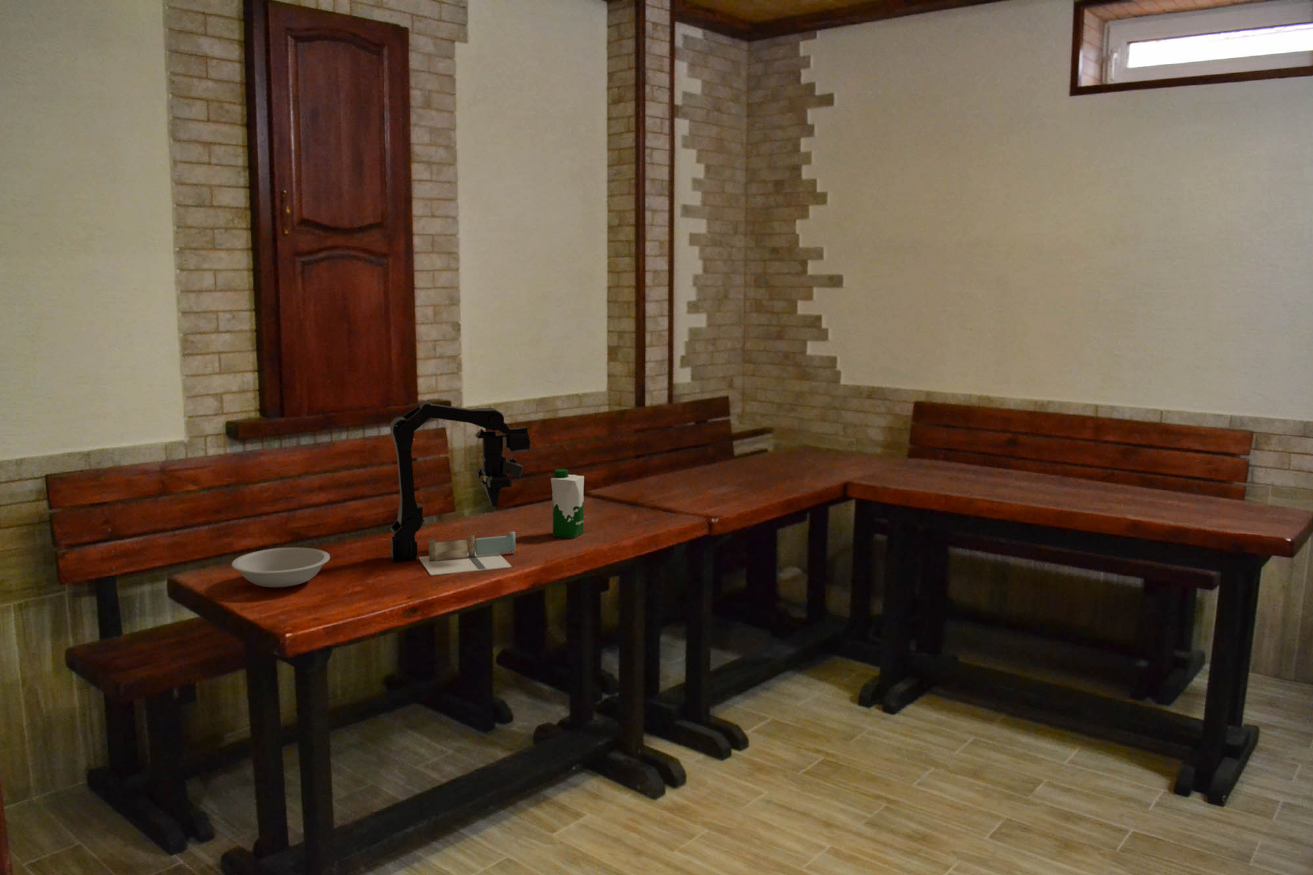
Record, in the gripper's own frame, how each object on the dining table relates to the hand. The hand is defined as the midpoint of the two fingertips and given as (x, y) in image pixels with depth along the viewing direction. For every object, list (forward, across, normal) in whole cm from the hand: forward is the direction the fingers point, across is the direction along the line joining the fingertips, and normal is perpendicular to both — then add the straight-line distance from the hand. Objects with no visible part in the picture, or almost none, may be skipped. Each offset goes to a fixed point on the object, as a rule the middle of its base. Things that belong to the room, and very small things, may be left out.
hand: (494, 506), depth 319 cm
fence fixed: (+13, -6, +14) cm, 19 cm away
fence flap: (+12, -6, +1) cm, 14 cm away
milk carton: (+13, +9, -25) cm, 30 cm away
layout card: (+13, -10, +11) cm, 20 cm away
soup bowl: (+13, -13, +59) cm, 62 cm away
